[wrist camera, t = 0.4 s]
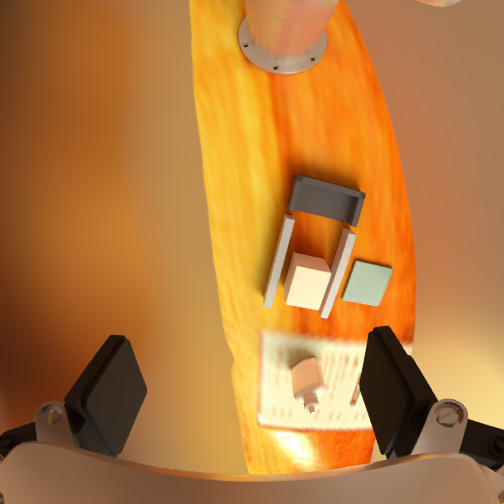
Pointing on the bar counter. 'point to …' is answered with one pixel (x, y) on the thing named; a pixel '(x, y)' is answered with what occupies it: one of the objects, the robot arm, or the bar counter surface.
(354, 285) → the green coaster
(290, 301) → the cream block
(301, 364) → the eye dropper bottle
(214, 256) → the bar counter surface
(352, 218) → the tray
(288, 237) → the channel
